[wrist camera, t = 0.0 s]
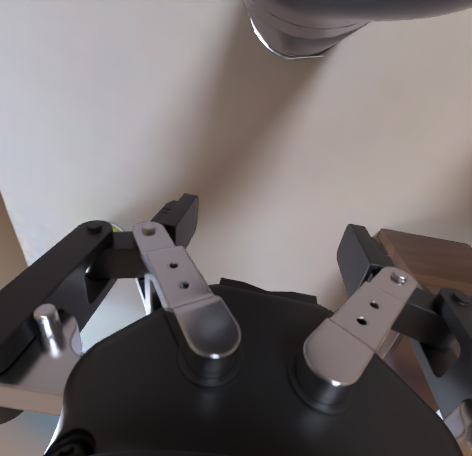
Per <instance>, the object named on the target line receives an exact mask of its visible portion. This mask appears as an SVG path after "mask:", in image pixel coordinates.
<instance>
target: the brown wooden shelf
mask: <svg viewBox="0 0 472 456" xmlns="http://www.w3.org/2000/svg"><path fill="white" fill-rule="evenodd" d="M378 238H379V240H380V241H381V243H382V245H383V246H384V248H385V249H386V251H387V253H388V254H389V256H390V257H391V259H392V261H393V262H394V264H395V265H396V267H397V268H398V269H401V270H403V271H405V272H407V273H408V274H410V275H411V276H412V277H413V278H414V279H415V280H416V281H417V288H420V289H422V290H425V291H428V292H430V293H433V294H436V295H437V293H438V292H439V290H440V289H441V288H443V287H449V288H454V289H457V290H459V291H462V292H464V293H466V294H467V295H469V296H470V297H472V248H471V247H470V246H469V245H468V244H464V243H459V242H453V241H448V240H442V239H437V238H431V237H426V236H420V235H415V234H409V233H404V232H398V231H393V230H387V229H381V231H380V233H379V235H378ZM452 348H453V350H454V352H455V353H456V355H457V357H458V358H459V356H460V345H459V343H458V341H456V342H455V343H454V344H453V346H452ZM375 353H376V354H377V355H378V356H379V357H380V358H381V359H382V360H383V361H384V362H385V363H386V364H387V365H388V366H389V367H390V368H391V369H392V370H393V371H394V372H395V373H396V374H397V375H398V376H399V377H400V378H402V379H403V380H404V381H405V382H406V383H407V384H408V385H409V386H410V387H411V388H412V389H413V390H414V391H415V392H416V393H417V394H418V395H419V396H420V397H421V398H422V399H423V400H424V401H425V402H426V403H427V404H428V405H429V406H430V407H431V408H432V409H433V410H434V411H435V412H437V411H438V410H439V408H438V405H437V403H436V401H435V399H434V396H433V394H432V392H431V389H430V387H429V385H428V382H427V380H426V378H425V375H424V373H423V371H422V369H421V366H420V364H419V362H418V359H417V357H416V355H415V352H414V350H413V348H412V345H411V343H410V341H409V337H407V336H405V335H403V334H400V333H398V332H396V331H393V330H391V329H390V330H389V332H388V333H387V335H386V337H385V338H384V340H383V341H382V343H381V344H380V346H379V348H378V349H377V351H376V352H375Z"/></svg>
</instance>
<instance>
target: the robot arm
mask: <svg viewBox="0 0 472 456" xmlns="http://www.w3.org/2000/svg"><path fill="white" fill-rule="evenodd" d="M242 1H243V3H244V5H245V7H246V9H247V11H248V14H249V16H250V19H251V22H252V25H253V27H254V30H255V32H256V34H257V36H258V37H259V39H260V40H261V42H262V43H263V44H264V45H265V46H266V47H267V48H268V49H269V50H270V51H271V52H273V53H274V54H276V55H278V56H280V57H283V58H285V59H290V60H304V59H309V58H312V57H323V56H317V55H320V54H322V53H323V52H325V51H327V50H328V49H329V48H331V47H332V46H333V45H335V44H336V43H337V42H339V41H341V40H342V39H344V38H345V37H347V36H349V35H350V34H352V33H353V32H355V31H357V30H358V29H360V28H361V27H363V26H365V25H366V24H368V23H369V22H371V21H396V20H412V19H421V18H429V17H436V16H441V15H445V14H450V13H454V12H458V11H462V10H465V9H469V8H472V0H242ZM198 204H199V197H198V196H196V195H190V194H184V195H183V196H182V197H181V198H180V199H179V201H175V200H173V201H171V202H169V203H166V204H165V206H164V207H163V208H162V209H161V210H160V211H159V212H158V213H157V214H156V216H155V217H154V218H153V219H152V220H151V221H150V222H142V223H138V224H136V225H135V226H134V227H133V228H132V231H131V232H113V227H112V225H111V224H110V223H109V222H106V221H99V220H96V221H89V222H85V223H83V224H81V225H79V226H78V227H77V228H75V229H74V230H73V231H72V232H71V233H69V234H68V235H67V236H66V237H64V238H63V239H62V240H61V241H60V242H58V243H57V244H56V245H55V246H54V247H52V248H51V249H50V250H49V251H48V252H46V253H45V254H44V255H43V256H41V257H40V258H39V259H38V260H37V261H35V262H34V263H33V264H32V265H31V266H29V267H28V268H27V269H26V270H24V271H23V272H22V273H21V274H20V275H19V276H17V277H16V278H15V279H14V280H12V281H11V282H10V283H9V284H8V285H6V286H5V287H4V288H3V289H1V290H0V424H3V423H6V422H8V421H10V420H12V419H14V418H15V417H17V416H18V415H20V413H22V412H23V411H24V410H25V411H32V412H39V413H44V414H51V415H57V416H60V418H59V422H58V425H57V428H56V431H55V433H54V435H53V438H52V441H51V443H50V445H49V447H48V448H47V450H46V452H45V453H44V455H43V456H472V297H470V296H469V295H467V294H466V293H464V292H462V291H459V290H457V289H454V288H449V287H443V288H441V289H440V290H439V292H438V293H437V295H436V294H433V293H430V292H428V291H425V290H422V289H420V288H417V281H416V280H415V279H414V278H413V277H412V276H411V275H410V274H408V273H407V272H405V271H403V270H401V269H398V268H395V266H394V264H393V263H392V261H391V260H390V258H389V256H387V253H386V252H385V251H384V248H383V247H382V245H381V243H379V242H378V241H377V240H376V239H375V238H373V237H371V236H370V235H369V233H368V231H367V230H366V228H365V227H364V226H359V225H354V224H348V226H347V227H346V230H345V232H344V235H343V237H342V240H341V242H340V245H339V247H338V251H337V262H338V265H339V268H340V271H341V274H342V277H343V280H344V283H345V286H346V290H347V293H348V296H349V299H348V300H347V301H346V302H345V303H344V304H343V305H342V306H341V307H340V308H339V309H338V310H337V311H336V312H335V313H333V312H332V311H330V310H329V309H327V308H325V307H323V306H321V305H319V304H317V299H316V296H311V295H306V294H301V293H296V292H270V291H265V290H263V289H260V288H258V287H255V286H253V285H250V284H247V283H245V282H240V281H235V280H230V279H225V278H221V280H220V283H219V284H213V285H208V284H207V283H206V281H205V280H204V278H203V276H202V275H201V273H200V272H199V270H198V269H197V267H196V265H195V264H194V262H193V261H192V259H191V257H190V256H189V254H188V253H187V251H186V247H187V246H188V244H189V242H190V240H191V238H192V237H193V235H194V233H195V230H196V227H197V219H198ZM118 278H135V279H136V283H137V286H138V289H139V292H140V295H141V298H142V301H143V304H144V307H145V311H146V316H145V317H143V318H141V319H139V320H137V321H136V322H134V323H132V324H130V325H128V326H127V327H125V328H123V329H121V330H119V331H117V332H116V333H114V334H112V335H110V336H108V337H106V338H105V339H103V340H101V341H100V342H98V343H96V344H95V345H94V346H92V347H91V348H90V349H89V350H88V351H87V352H86V353H84V354H83V356H80V353H81V350H82V341H81V337H80V332H81V331H82V329H83V328H84V326H85V325H86V324H87V322H88V321H89V319H90V318H91V316H92V315H93V314H94V312H95V311H96V309H97V308H98V306H99V305H100V304H101V302H102V301H103V299H104V298H105V296H106V295H107V294H108V292H109V291H110V289H111V288H112V286H113V285H114V284H115V282H116V281H117V279H118ZM390 329H391V330H393V331H396V332H398V333H400V334H403V335H405V336H407V337H409V341H410V343H411V345H412V348H413V350H414V352H415V355H416V357H417V359H418V362H419V364H420V366H421V369H422V371H423V373H424V375H425V378H426V380H427V382H428V385H429V387H430V389H431V392H432V394H433V396H434V399H435V401H436V403H437V405H438V408H439V410H440V412H441V415H442V417H443V420H442V419H441V418H440V417H439V416H438V414H437V413H436V412H435V411H434V410H433V409H432V408H431V407H430V406H429V405H428V404H427V403H426V402H425V401H424V400H423V399H422V398H421V397H420V396H419V395H418V394H417V393H416V392H415V391H414V390H413V389H412V388H411V387H410V386H409V385H408V384H407V383H406V382H405V381H404V380H403V379H402V378H400V377H399V376H398V375H397V374H396V373H395V372H394V371H393V370H392V369H391V368H390V367H389V366H388V365H387V364H386V363H385V362H384V361H383V360H382V359H381V358H380V357H379V356H378V355H377V354H376V353H375V352H376V351H377V349H378V348H379V346H380V344H381V343H382V341H383V340H384V338H385V337H386V335H387V333H388V332H389V330H390ZM456 341H458V343H459V345H460V356H459V358H458V357H457V355H456V353H455V352H454V350H453V348H452V346H453V344H454V343H455V342H456Z"/></svg>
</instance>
